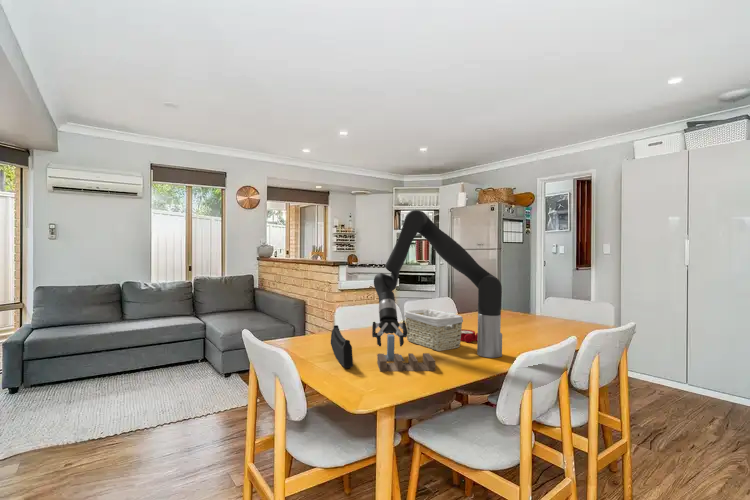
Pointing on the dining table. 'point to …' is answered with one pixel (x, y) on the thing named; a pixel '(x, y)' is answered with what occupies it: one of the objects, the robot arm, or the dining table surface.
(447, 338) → the storage basket
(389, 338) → the tile
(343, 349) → the magazine
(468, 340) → the alarm clock
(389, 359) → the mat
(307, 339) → the dining table surface
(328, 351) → the dining table surface
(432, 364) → the rack
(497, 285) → the robot arm
